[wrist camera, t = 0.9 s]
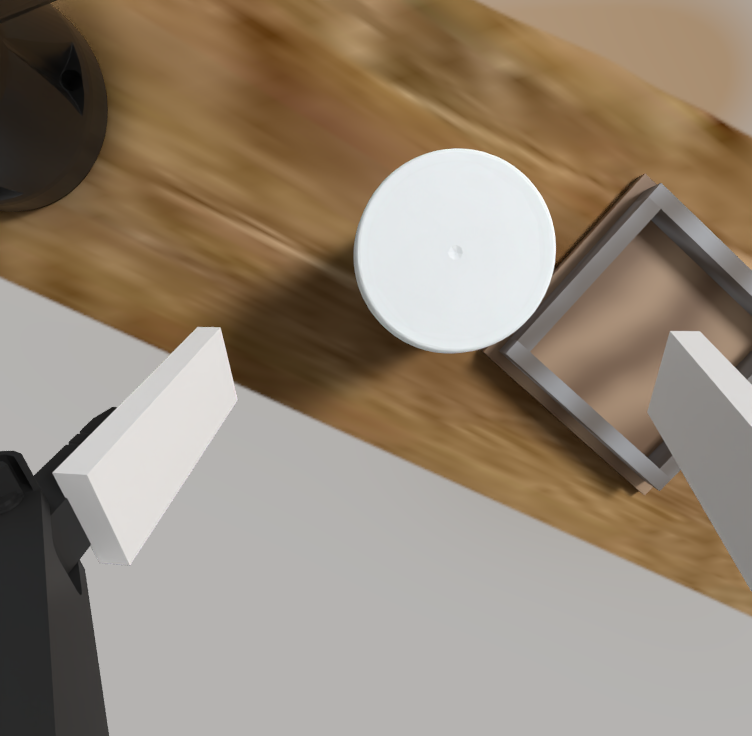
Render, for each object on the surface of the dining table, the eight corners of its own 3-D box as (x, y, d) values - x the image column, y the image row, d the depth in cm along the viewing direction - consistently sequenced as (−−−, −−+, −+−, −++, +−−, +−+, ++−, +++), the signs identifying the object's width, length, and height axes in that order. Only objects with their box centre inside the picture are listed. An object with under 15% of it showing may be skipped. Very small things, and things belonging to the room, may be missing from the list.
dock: (481, 350, 37) (489, 354, 35) (639, 176, 36) (661, 165, 33) (639, 491, 39) (659, 505, 36) (798, 329, 37) (832, 331, 34)
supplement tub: (516, 274, 37) (608, 253, 22) (427, 364, 38) (459, 401, 23) (425, 180, 36) (457, 95, 21) (336, 275, 37) (308, 255, 22)
